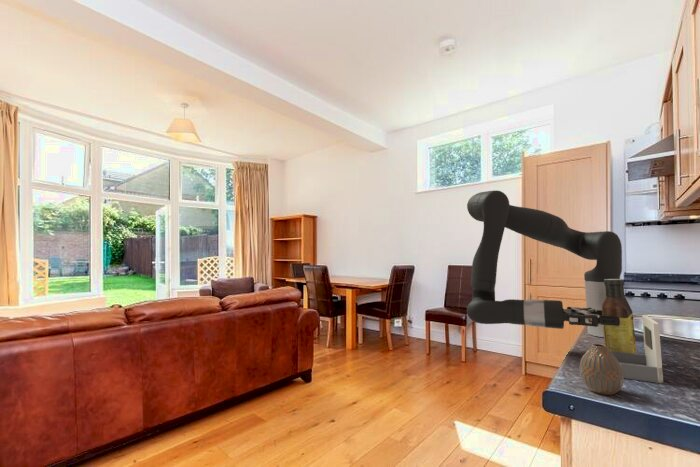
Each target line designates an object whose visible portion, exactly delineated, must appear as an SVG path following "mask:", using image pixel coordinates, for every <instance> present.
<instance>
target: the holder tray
mask: <svg viewBox="0 0 700 467" xmlns="http://www.w3.org/2000/svg"><path fill="white" fill-rule="evenodd" d="M641 316H642V317H641V318H642V331H643V334H642V335H643V346H644V354H643V353H642V354H641V353H636V354H634V353H625V352H615V351H610V352H611V353H612V354H613V356H614V357H615V358H616V359H617V360H618V361H619V363H620V365H621V367H622V370H623V375H624V379H627V380H635V381H641V382H649V383H657V384H664V374H663V362H662V350H661V348H662V347H661V346H662V345H661V337H660V335H661V334H660V324H659V322H657V321H655V320H654V319H653V318H651V317H650V316H648V315H644V314H643V315H641Z"/></svg>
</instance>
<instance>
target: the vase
mask: <svg viewBox="0 0 700 467" xmlns="http://www.w3.org/2000/svg"><path fill="white" fill-rule="evenodd" d="M578 367H579V374H580V377H581V380H582V382H583V384H584V385H585V386H586V387H587V389H589V390H590V391H592V392H593V393H597V394H600V395H607V396H608V395H609V396H611V395H613V396H614V395H615V394H616V393H618V392H619V391H621V390H622V388H623V384H624V379H625V378H624V375H623V370H622V367H621V365H620V363H619V361H618V360H617V359H616V358H615V357H614V356H613V354H612V353H611V352H610V351H609V349H608V348H607V346H606V345H605V344H604V343H603V344H602V343H591V345H590V347H589V349H588V350H587V351H586V352H585V353H584V354H583V355H582V357H581V358H580V361H579V366H578Z"/></svg>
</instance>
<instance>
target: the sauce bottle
mask: <svg viewBox="0 0 700 467" xmlns="http://www.w3.org/2000/svg"><path fill="white" fill-rule="evenodd" d="M604 284H605V288H606V299H605V300H604V302H603V304H602V315H605V316H617V317H619V319H620V325H619V326H613V325H603V332H604V337H603V340H604V341H603V342H604V343H603V344H604V345H606V346H607V348H608V349H609V351H615V352H625V353H634V354H638V353H637V352H638V351H637V343H636V334H635V322H634V313H633V310H632V308H631V305H630V304H629V302H628V300H627V298H626V294H625V288H624V286H625V280H624V279H623V278H620V279H604Z"/></svg>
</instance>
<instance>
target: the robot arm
mask: <svg viewBox="0 0 700 467" xmlns="http://www.w3.org/2000/svg"><path fill="white" fill-rule="evenodd" d="M466 208H467V212H468V214H469V215H470V217H471V218H473V219H474V220H476V221H478V222H481V223H482V222H483V230H482V231H483V232H482V236H481V240H480V242H479V245H478V246H477V249H476V252H475V253H474V256H473V260H472V264H471V275H470V286H471V287H472V294H471V295H472V296H471V301H470V302H469V303H468V304H467V308H466V313H467V316H468V318H469V319H470V320H471V321H472V322H474V323H477V324H481V325H483V324H484V325H499V324H509V325H519V326H521V325H522V326H529V327H535V328H547V329H556V330H557V329H558V330H563V329H564V328H565V322H568V324H569V325H571V326H583V327H584V326H586V327H587V334H588V335H590V336H594V337H597V338H598V337H599V338H604V332H603V325H613V326H619V325H620V319H619V317H617V316H605V315H602V304H603V302H604V300H605V299H606V288H605V284H604V279H621V274H622V272H623V249H622V248H623V247H622V241H621V239H620V237H619V235H618V234H617V233H615V232H614V231H609V230H607V231H594V232H588V231H587V232H585V231H580V230H577V229H573V228H571V227H569V225H568V224H567V222H566V221H565V220H564V219H563V218H561V217H560V216H557V215H555V214H552V213H550V212H548V211H544V210H541V209H535V208H530V207H523V206H518V205H511V204H510V201H509V198H508V196H507V194H505V192H503V191H501V190H488V191H481V192H477V193H475V194H474V195H472V196H471V197H470V198H469V199H468V201H467V205H466ZM505 228H506V229H508V230H510V231H513V232H515V233H517V234H520V235H522V236H525V237H527V238H530V239H532V240H535V241H538V242H541V243H545V244H547V245H551V246H553V247H557V248H560V249H561V248H562V249H564V250H566V251H568V252H569V253H572V254H574V255H576V256H578V257H581V258H583V259H585V260H591V261H596V264H595V266H594V267H593V268H591V270H587V271H586V272H584V274H583V275H584V276H583V277H584V291H585V303H586V304H585V305H586V307H576V306H567V307H566V308H564V305H563V301H562V300H557V299H556V300H555V299H554V300H553V299H515V298H514V299H509V298H508V299H504V300H496V290H495V289H496V283H497V271H498V262H499V255H500V254H499V253H500V249H501V245H502V240H503V236H504V233H505Z"/></svg>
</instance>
